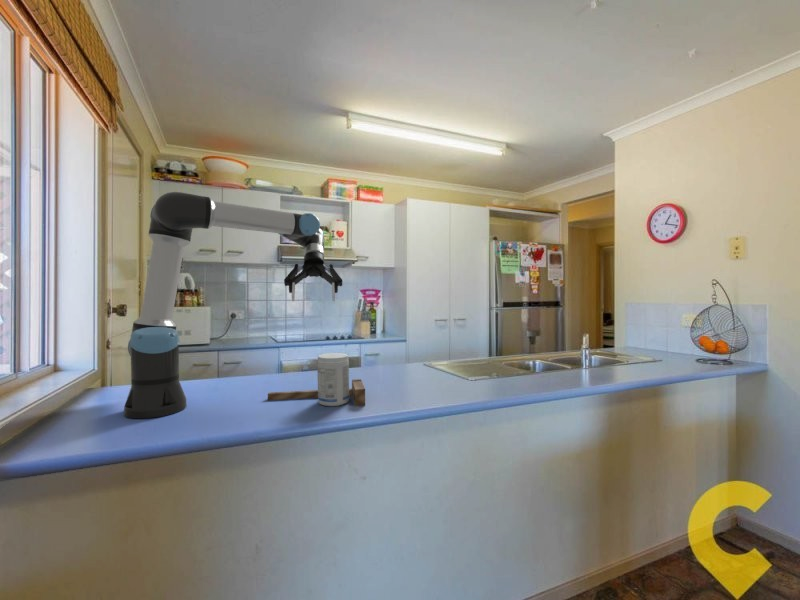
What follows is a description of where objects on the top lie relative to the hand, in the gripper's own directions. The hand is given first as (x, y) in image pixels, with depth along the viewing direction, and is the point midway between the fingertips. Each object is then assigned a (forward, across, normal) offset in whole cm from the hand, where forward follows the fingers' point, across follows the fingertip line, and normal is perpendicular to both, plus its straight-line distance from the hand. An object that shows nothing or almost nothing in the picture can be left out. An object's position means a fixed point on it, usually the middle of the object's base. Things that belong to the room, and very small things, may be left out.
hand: (313, 298), depth 132 cm
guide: (+33, -1, -12) cm, 35 cm away
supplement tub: (+34, -6, -12) cm, 36 cm away
